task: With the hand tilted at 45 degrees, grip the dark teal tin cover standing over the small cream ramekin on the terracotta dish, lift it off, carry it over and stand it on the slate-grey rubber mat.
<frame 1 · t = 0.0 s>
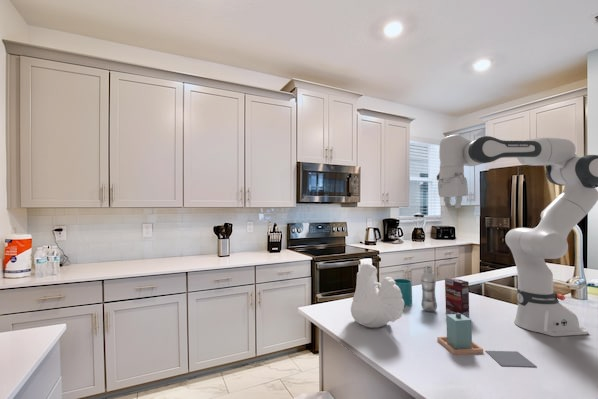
hand: (452, 207, 121), 48 cm above the countertop, tool pointing down, fingers open, 8 cm apart
mat: (509, 360, 93), on the countertop
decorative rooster: (376, 327, 120), on the countertop
supplement box: (457, 316, 130), on the countertop
cup: (400, 304, 147), on the countertop
dish: (459, 348, 101), on the countertop
metal bottle: (429, 311, 137), on the countertop
cover: (459, 346, 101), point 1 cm above the countertop, touching dish
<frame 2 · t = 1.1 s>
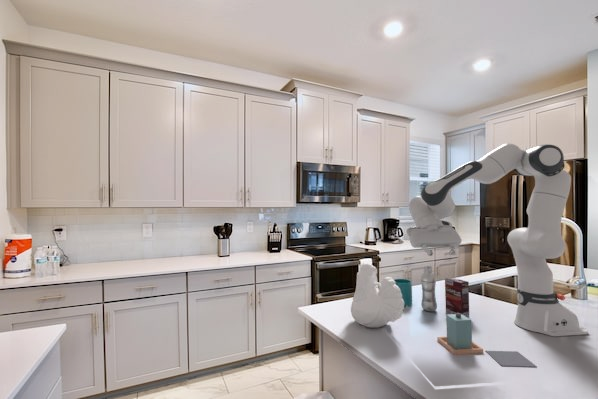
hand: (442, 254, 115), 30 cm above the countertop, tool tilted 45°, fingers open, 8 cm apart
nothing on the countertop moved.
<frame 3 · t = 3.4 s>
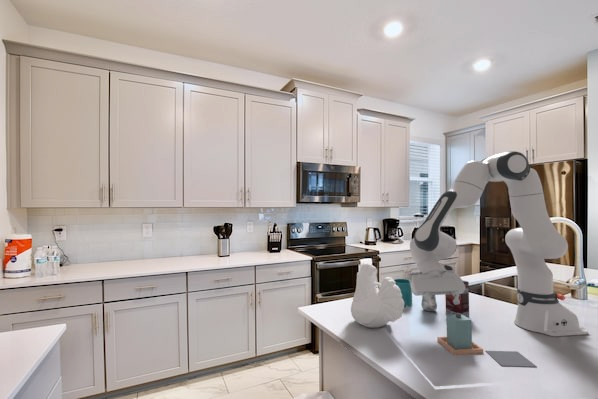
hand: (445, 304, 109), 12 cm above the countertop, tool tilted 45°, fingers open, 8 cm apart
nothing on the countertop moved.
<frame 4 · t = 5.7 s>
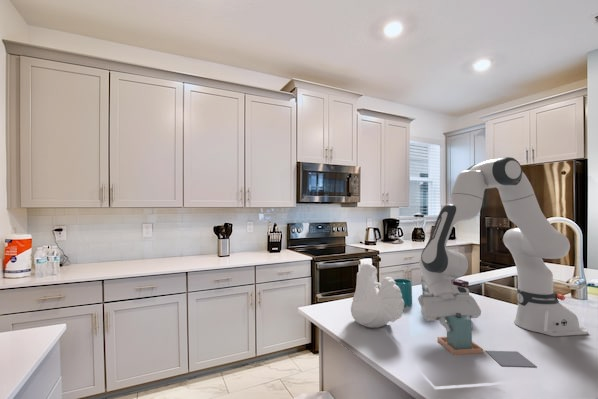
hand: (460, 331, 101), 6 cm above the countertop, tool tilted 45°, fingers closed on cover, 5 cm apart
cover: (459, 346, 101), point 1 cm above the countertop, touching dish, gripper
everything else where it was.
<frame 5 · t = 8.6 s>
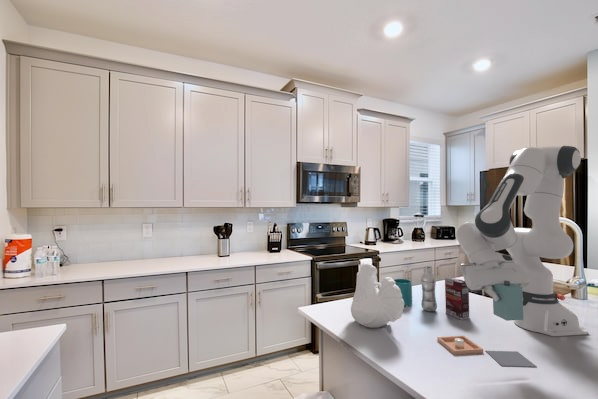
hand: (508, 300, 92), 19 cm above the countertop, tool tilted 45°, fingers closed on cover, 5 cm apart
cover: (508, 316, 93), point 14 cm above the countertop, touching gripper
everything else where it was.
when the fingers open (8 cm above the countertop, at t = 11.9 s): cover drops 1 cm, resting on mat.
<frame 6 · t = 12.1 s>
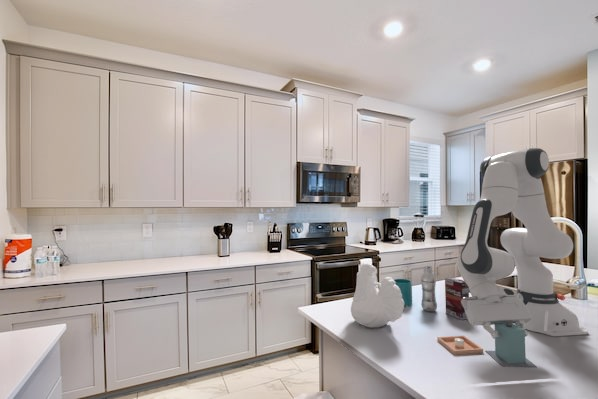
hand: (510, 337, 92), 8 cm above the countertop, tool tilted 45°, fingers open, 8 cm apart
cover: (510, 358, 93), point 1 cm above the countertop, touching mat
everything else where it was.
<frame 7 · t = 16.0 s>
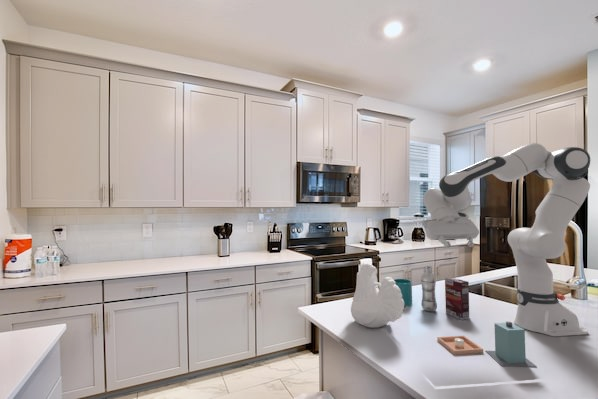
hand: (460, 246, 113), 33 cm above the countertop, tool tilted 45°, fingers open, 8 cm apart
nothing on the countertop moved.
at the end: cover inside the target area on the mat (0.1 cm from its centre), point 0.8 cm above the mat's base; cover tilted 0°; the gripper is holding nothing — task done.
